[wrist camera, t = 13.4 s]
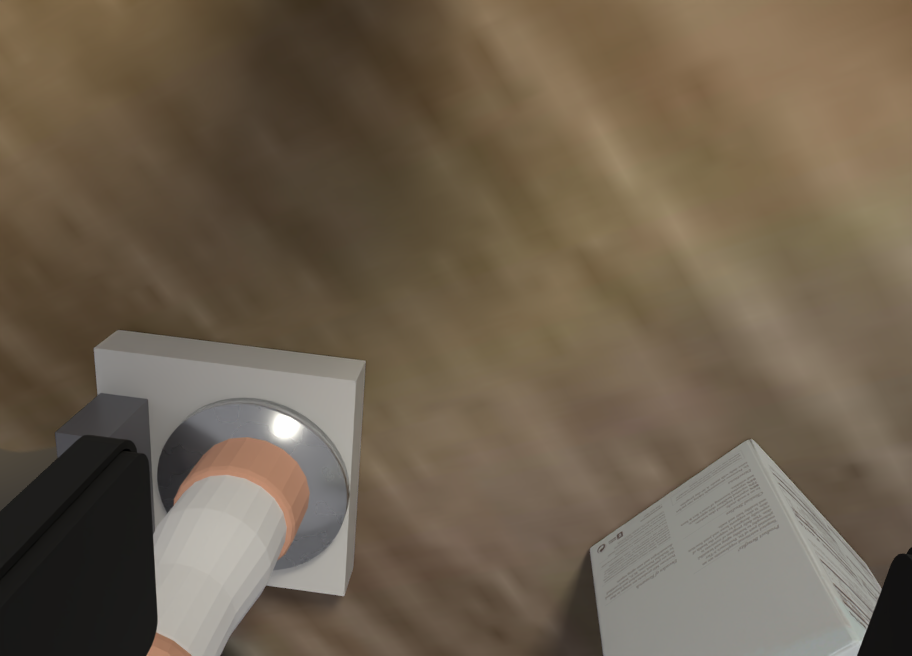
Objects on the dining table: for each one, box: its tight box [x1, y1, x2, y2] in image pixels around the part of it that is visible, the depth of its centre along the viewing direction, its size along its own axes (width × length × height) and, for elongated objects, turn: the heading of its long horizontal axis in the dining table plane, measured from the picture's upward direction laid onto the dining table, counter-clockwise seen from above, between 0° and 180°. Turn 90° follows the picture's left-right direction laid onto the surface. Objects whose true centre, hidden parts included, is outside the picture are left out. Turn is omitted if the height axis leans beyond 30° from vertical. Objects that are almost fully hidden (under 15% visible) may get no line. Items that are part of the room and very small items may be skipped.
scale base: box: [55, 330, 366, 596], centre depth 49 cm, size 16×16×8 cm
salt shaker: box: [146, 437, 310, 656], centre depth 40 cm, size 7×7×19 cm
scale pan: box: [157, 398, 350, 570], centre depth 49 cm, size 12×12×1 cm
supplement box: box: [590, 439, 882, 656], centre depth 44 cm, size 13×13×18 cm
